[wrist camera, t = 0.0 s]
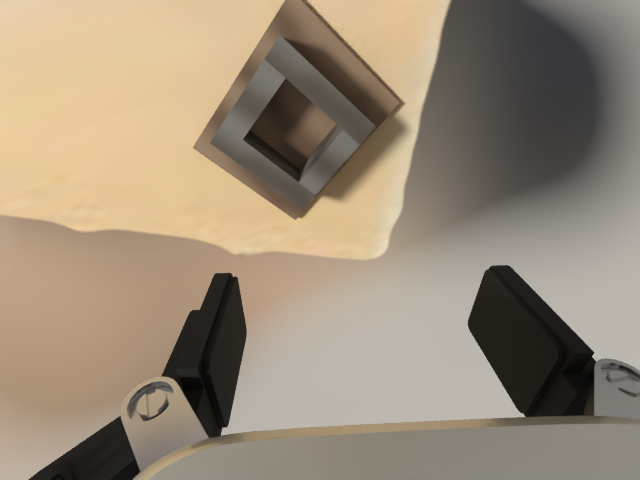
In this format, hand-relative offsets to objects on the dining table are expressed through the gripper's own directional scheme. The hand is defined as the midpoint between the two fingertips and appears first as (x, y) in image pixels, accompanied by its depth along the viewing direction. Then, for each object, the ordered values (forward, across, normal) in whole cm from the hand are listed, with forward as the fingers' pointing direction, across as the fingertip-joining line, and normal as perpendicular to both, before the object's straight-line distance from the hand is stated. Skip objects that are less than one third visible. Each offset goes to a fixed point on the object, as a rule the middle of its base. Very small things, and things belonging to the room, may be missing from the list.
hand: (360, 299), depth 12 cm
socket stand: (+31, +3, -1) cm, 31 cm away
